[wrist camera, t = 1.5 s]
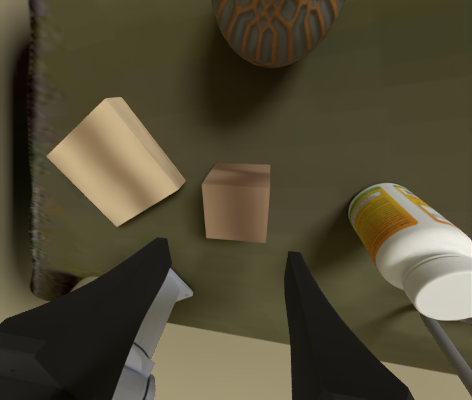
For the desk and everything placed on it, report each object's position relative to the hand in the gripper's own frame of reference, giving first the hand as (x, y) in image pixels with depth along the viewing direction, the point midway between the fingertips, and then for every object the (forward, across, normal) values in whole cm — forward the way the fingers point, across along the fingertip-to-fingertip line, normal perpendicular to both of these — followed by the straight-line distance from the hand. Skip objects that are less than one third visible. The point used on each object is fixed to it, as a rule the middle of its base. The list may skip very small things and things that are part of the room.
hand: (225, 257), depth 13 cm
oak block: (+10, +12, -2) cm, 16 cm away
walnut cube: (+10, 0, 0) cm, 10 cm away
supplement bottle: (+10, -13, +1) cm, 16 cm away
